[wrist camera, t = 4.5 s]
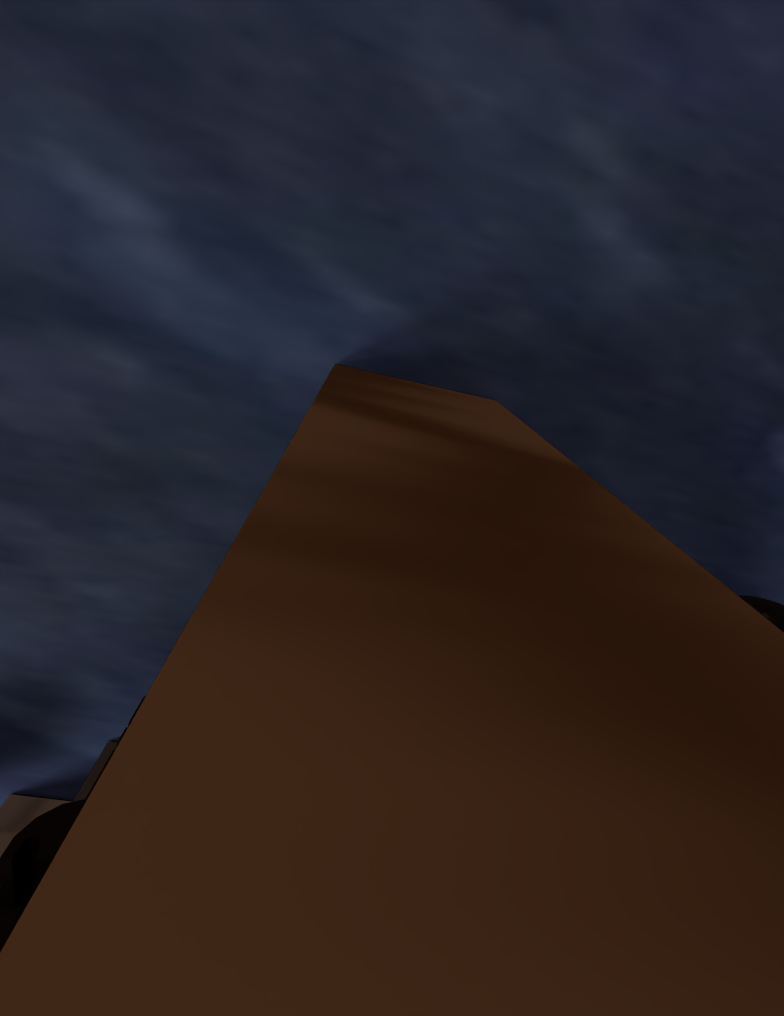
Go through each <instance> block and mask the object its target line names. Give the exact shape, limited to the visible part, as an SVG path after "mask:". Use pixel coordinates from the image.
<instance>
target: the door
mask: <svg viewBox="0 0 784 1016" xmlns="http://www.w3.org/2000/svg"><path fill="white" fill-rule="evenodd" d="M0 1016H784V632H782V631H781V630H780V629H779V628H777V627H776V626H775V625H774V624H772V623H771V622H770V621H769V620H767V619H766V618H765V617H764V616H762V615H761V614H760V613H759V612H758V611H756V610H755V609H754V608H753V607H751V606H750V605H749V604H748V603H746V602H745V601H744V600H743V599H741V598H740V597H739V596H738V595H736V594H735V593H734V592H733V591H732V590H730V589H729V588H728V587H727V586H725V585H724V584H723V583H722V582H720V581H719V580H718V579H717V578H715V577H714V576H713V575H712V574H710V573H709V572H708V571H707V570H706V569H704V568H703V567H702V566H701V565H699V564H698V563H697V562H696V561H694V560H693V559H692V558H691V557H689V556H688V555H687V554H686V553H684V552H683V551H682V550H681V549H680V548H678V547H677V546H676V545H675V544H673V543H672V542H671V541H670V540H668V539H667V538H666V537H665V536H663V535H662V534H661V533H660V532H658V531H657V530H656V529H655V528H654V527H652V526H651V525H650V524H649V523H647V522H646V521H645V520H644V519H642V518H641V517H640V516H639V515H637V514H636V513H635V512H634V511H632V510H631V509H630V508H629V507H628V506H626V505H625V504H624V503H623V502H621V501H620V500H619V499H618V498H616V497H615V496H614V495H613V494H611V493H610V492H609V491H608V490H606V489H605V488H604V487H603V486H601V485H600V484H599V483H598V482H597V481H595V480H594V479H593V478H592V477H590V476H589V475H588V474H587V473H585V472H584V471H583V470H582V469H580V468H579V467H578V466H577V465H575V464H574V463H573V462H572V461H571V460H569V459H568V458H567V457H566V456H564V455H563V454H562V453H561V452H559V451H558V450H557V449H556V448H554V447H553V446H552V445H551V444H549V443H548V442H547V441H546V440H545V439H543V438H542V437H541V436H540V435H538V434H537V433H536V432H535V431H533V430H532V429H531V428H530V427H528V426H527V425H526V424H525V423H523V422H522V421H521V420H520V419H519V418H517V417H516V416H515V415H514V414H512V413H511V412H510V411H509V410H507V409H506V408H505V407H504V406H502V405H501V404H500V403H499V402H497V401H495V400H491V399H486V398H482V397H478V396H473V395H469V394H465V393H460V392H456V391H452V390H447V389H443V388H439V387H434V386H430V385H425V384H421V383H417V382H412V381H408V380H404V379H399V378H395V377H391V376H386V375H382V374H378V373H373V372H369V371H365V370H360V369H356V368H352V367H347V366H343V365H339V364H335V365H334V367H333V368H332V370H331V372H330V374H329V375H328V377H327V379H326V381H325V383H324V384H323V386H322V388H321V390H320V391H319V393H318V395H317V397H316V398H315V400H314V402H313V404H312V405H311V407H310V409H309V411H308V412H307V414H306V416H305V418H304V419H303V421H302V423H301V425H300V426H299V428H298V430H297V432H296V434H295V435H294V437H293V439H292V441H291V442H290V444H289V446H288V448H287V449H286V451H285V453H284V455H283V456H282V458H281V460H280V462H279V463H278V465H277V467H276V469H275V470H274V472H273V474H272V476H271V477H270V479H269V481H268V483H267V485H266V486H265V488H264V490H263V492H262V493H261V495H260V497H259V499H258V500H257V502H256V504H255V506H254V507H253V509H252V511H251V513H250V514H249V516H248V518H247V520H246V521H245V523H244V525H243V527H242V528H241V530H240V532H239V534H238V536H237V537H236V539H235V541H234V543H233V544H232V546H231V548H230V550H229V551H228V553H227V555H226V557H225V558H224V560H223V562H222V564H221V565H220V567H219V569H218V571H217V572H216V574H215V576H214V578H213V579H212V581H211V583H210V585H209V586H208V588H207V590H206V592H205V594H204V595H203V597H202V599H201V601H200V602H199V604H198V606H197V608H196V609H195V611H194V613H193V615H192V616H191V618H190V620H189V622H188V623H187V625H186V627H185V629H184V630H183V632H182V634H181V636H180V637H179V639H178V641H177V643H176V645H175V646H174V648H173V650H172V652H171V653H170V655H169V657H168V659H167V660H166V662H165V664H164V666H163V667H162V669H161V671H160V673H159V674H158V676H157V678H156V680H155V681H154V683H153V685H152V687H151V688H150V690H149V692H148V694H147V696H146V697H145V699H144V701H143V703H142V704H141V706H140V708H139V710H138V711H137V713H136V715H135V717H134V718H133V720H132V722H131V724H130V725H129V727H128V729H127V731H126V732H125V734H124V736H123V738H122V739H121V741H120V743H119V745H118V747H117V748H116V750H115V752H114V754H113V755H112V757H111V759H110V761H109V762H108V764H107V766H106V768H105V769H104V771H103V773H102V775H101V776H100V778H99V780H98V782H97V783H96V785H95V787H94V789H93V790H92V792H91V794H90V796H89V797H88V799H87V801H86V803H85V805H84V806H83V808H82V810H81V812H80V813H79V815H78V817H77V819H76V820H75V822H74V824H73V826H72V827H71V829H70V831H69V833H68V834H67V836H66V838H65V840H64V841H63V843H62V845H61V847H60V848H59V850H58V852H57V854H56V856H55V857H54V859H53V861H52V863H51V864H50V866H49V868H48V870H47V871H46V873H45V875H44V877H43V878H42V880H41V882H40V884H39V885H38V887H37V889H36V891H35V892H34V894H33V896H32V898H31V899H30V901H29V903H28V905H27V907H26V908H25V910H24V912H23V914H22V915H21V917H20V919H19V921H18V922H17V924H16V926H15V928H14V929H13V931H12V933H11V935H10V936H9V938H8V940H7V942H6V943H5V945H4V947H3V949H2V950H1V952H0Z"/></svg>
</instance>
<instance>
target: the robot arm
mask: <svg viewBox="0 0 784 1016" xmlns="http://www.w3.org/2000/svg"><path fill="white" fill-rule="evenodd" d="M146 696H147V695H146ZM146 696H145V697H146ZM145 697H144V698H143V699H142V701H141V702H140V704H139V706H138V708H137V709H136V711H135V713H134V715H133V716H132V718H131V720H130V722H129V725H130V724H131V722H132V720H133V718H134V717H135V715H136V713H137V711H138V710H139V708H140V706H141V704H142V703H143V701H144V699H145ZM129 725H128V727H129ZM128 727H127V728H126V729H125V730H124V732H123V734H122V736H121V737H120V739H119V741H118V743H117V745H116V748H117V747H118V745H119V743H120V741H121V739H122V738H123V736H124V734H125V732H126V731H127V729H128ZM116 748H115V750H116ZM115 750H113V751H112V753H111V755H110V756H109V758H108V760H107V762H106V763H105V765H104V767H103V769H102V770H101V772H100V774H99V776H98V777H97V779H96V781H95V783H94V784H93V786H92V788H91V790H90V791H89V793H88V795H87V797H86V798H85V799H83V800H79V801H74V802H69V803H64V804H61V805H59V806H57V807H55V808H53V809H51V810H50V811H48V812H46V813H44V814H42V815H40V816H38V817H36V818H35V819H34V820H33V821H31V822H30V823H29V824H28V825H27V826H26V827H25V828H23V829H22V830H21V831H20V832H19V833H18V834H16V835H15V836H14V837H13V839H12V840H11V842H10V843H9V845H8V846H7V848H6V849H5V851H4V852H3V854H2V855H1V857H0V952H1V950H2V949H3V947H4V945H5V943H6V942H7V940H8V938H9V936H10V935H11V933H12V931H13V929H14V928H15V926H16V924H17V922H18V921H19V919H20V917H21V915H22V914H23V912H24V910H25V908H26V907H27V905H28V903H29V901H30V899H31V898H32V896H33V894H34V892H35V891H36V889H37V887H38V885H39V884H40V882H41V880H42V878H43V877H44V875H45V873H46V871H47V870H48V868H49V866H50V864H51V863H52V861H53V859H54V857H55V856H56V854H57V852H58V850H59V848H60V847H61V845H62V843H63V841H64V840H65V838H66V836H67V834H68V833H69V831H70V829H71V827H72V826H73V824H74V822H75V820H76V819H77V817H78V815H79V813H80V812H81V810H82V808H83V806H84V805H85V803H86V801H87V799H88V797H89V796H90V794H91V792H92V790H93V789H94V787H95V785H96V783H97V782H98V780H99V778H100V776H101V775H102V773H103V771H104V769H105V768H106V766H107V764H108V762H109V761H110V759H111V757H112V755H113V754H114V752H115Z"/></svg>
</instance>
